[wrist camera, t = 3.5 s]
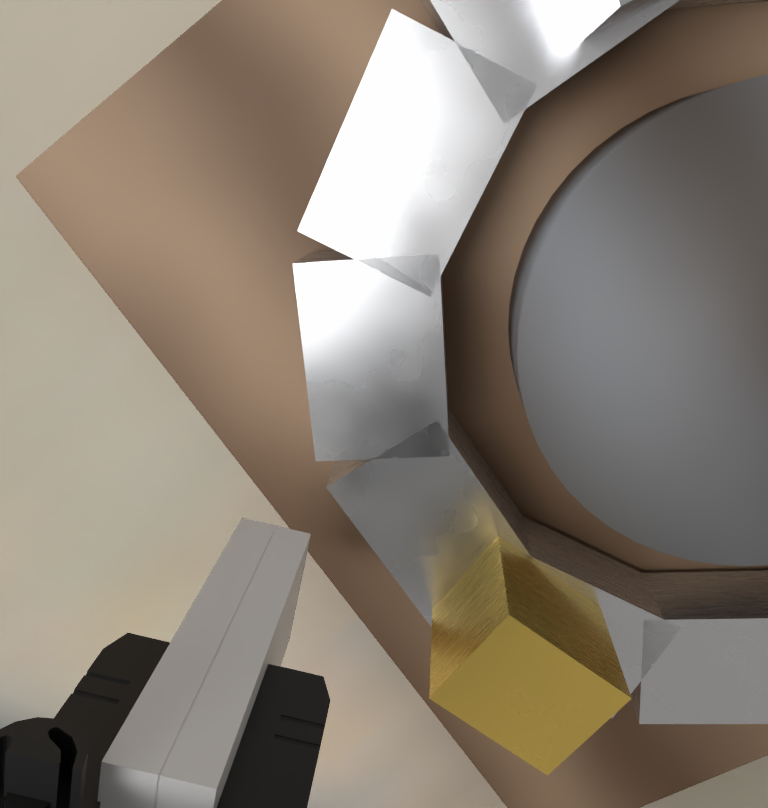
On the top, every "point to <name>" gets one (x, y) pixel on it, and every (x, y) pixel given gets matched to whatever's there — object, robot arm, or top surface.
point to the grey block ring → (444, 436)
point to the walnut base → (473, 310)
